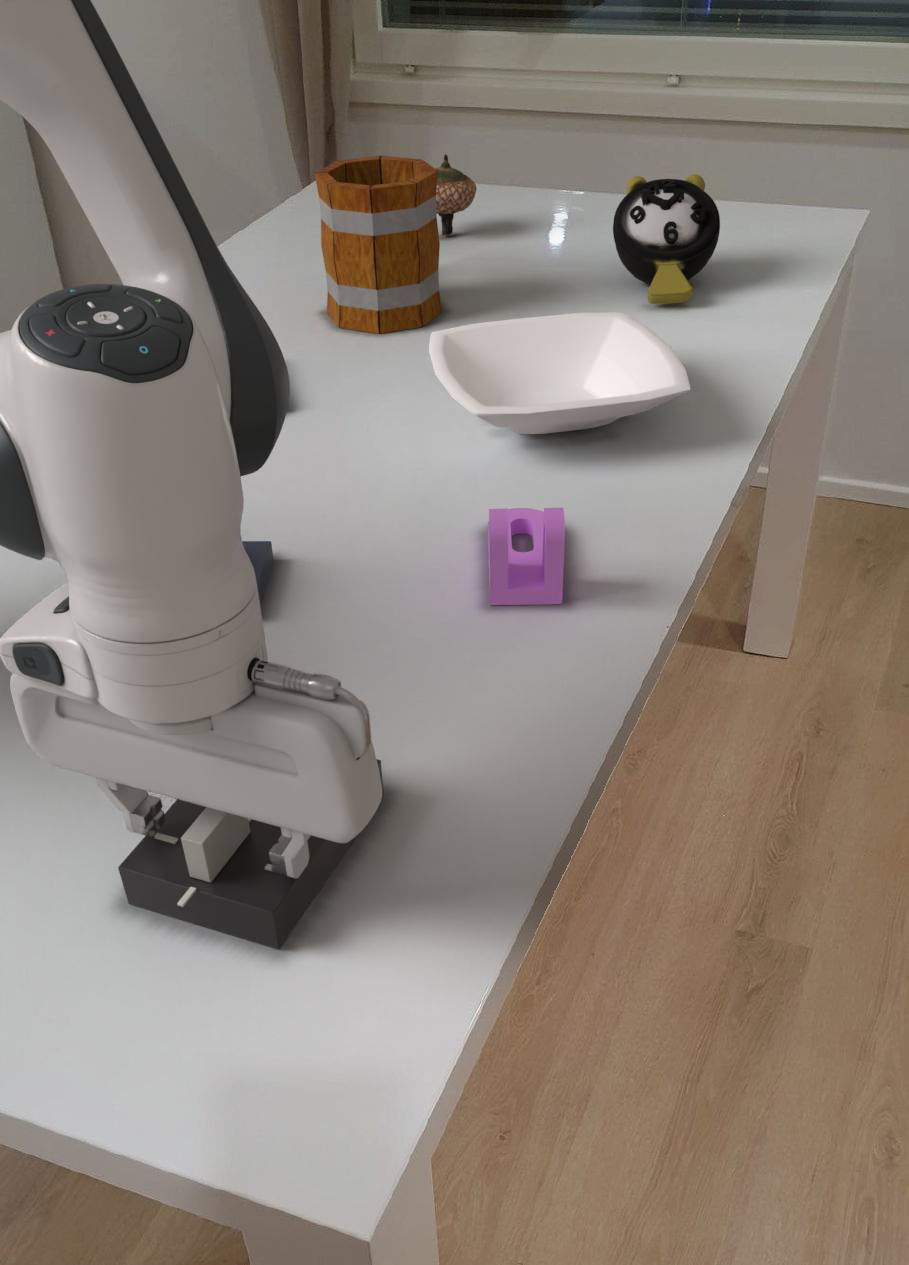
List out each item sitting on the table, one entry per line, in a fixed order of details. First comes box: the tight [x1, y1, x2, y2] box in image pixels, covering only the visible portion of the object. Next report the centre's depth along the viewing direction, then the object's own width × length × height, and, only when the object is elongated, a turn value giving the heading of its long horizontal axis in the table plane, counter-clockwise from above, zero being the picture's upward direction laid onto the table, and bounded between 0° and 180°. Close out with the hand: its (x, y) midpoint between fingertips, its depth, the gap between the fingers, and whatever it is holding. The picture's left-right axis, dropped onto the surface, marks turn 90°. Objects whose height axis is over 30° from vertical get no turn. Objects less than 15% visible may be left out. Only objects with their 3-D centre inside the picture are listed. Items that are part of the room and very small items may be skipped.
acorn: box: [434, 153, 477, 237], centre depth 159 cm, size 8×8×10 cm
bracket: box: [487, 507, 566, 606], centre depth 97 cm, size 13×6×7 cm, turn 0°
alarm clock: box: [612, 173, 721, 305], centre depth 143 cm, size 12×15×15 cm
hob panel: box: [117, 758, 385, 950], centre depth 73 cm, size 15×10×3 cm, turn 158°
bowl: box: [428, 312, 691, 435], centre depth 118 cm, size 22×23×6 cm
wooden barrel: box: [313, 155, 443, 335], centre depth 139 cm, size 20×14×15 cm
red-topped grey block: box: [181, 807, 250, 883], centre depth 68 cm, size 4×1×3 cm, turn 158°
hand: (218, 847), depth 69 cm, fingers open, 8 cm apart
